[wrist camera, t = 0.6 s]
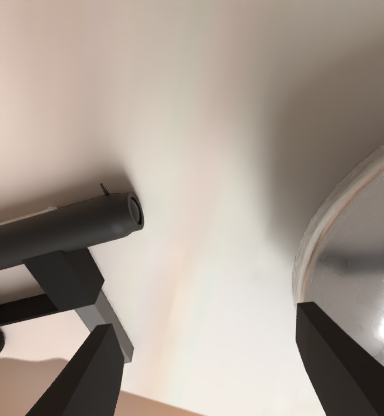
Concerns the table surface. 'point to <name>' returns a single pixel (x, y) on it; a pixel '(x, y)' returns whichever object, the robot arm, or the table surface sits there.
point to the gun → (68, 259)
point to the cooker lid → (348, 256)
